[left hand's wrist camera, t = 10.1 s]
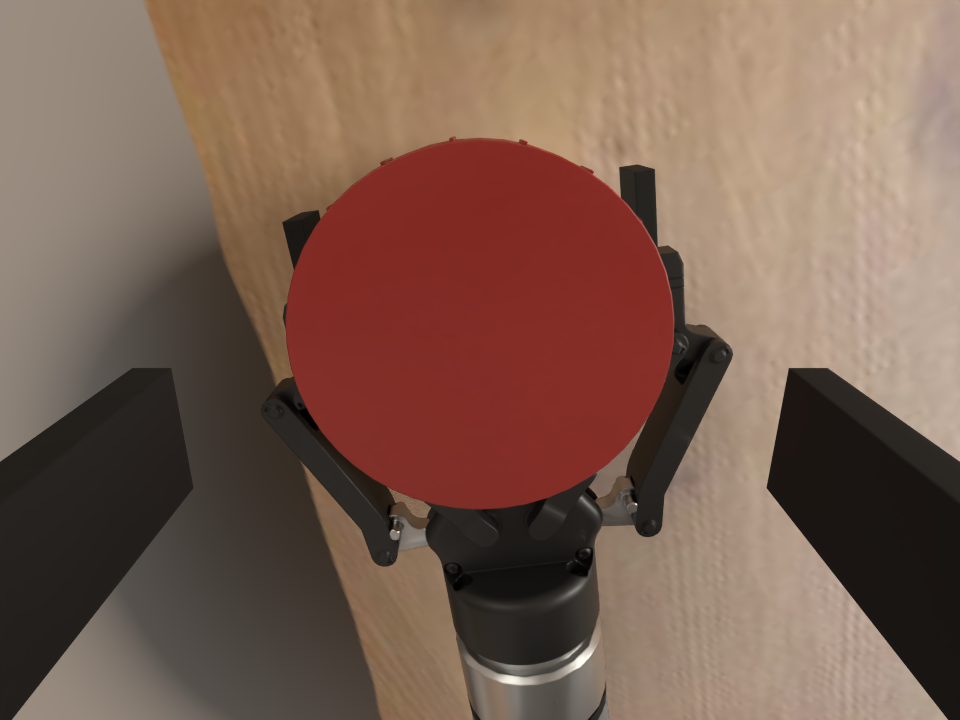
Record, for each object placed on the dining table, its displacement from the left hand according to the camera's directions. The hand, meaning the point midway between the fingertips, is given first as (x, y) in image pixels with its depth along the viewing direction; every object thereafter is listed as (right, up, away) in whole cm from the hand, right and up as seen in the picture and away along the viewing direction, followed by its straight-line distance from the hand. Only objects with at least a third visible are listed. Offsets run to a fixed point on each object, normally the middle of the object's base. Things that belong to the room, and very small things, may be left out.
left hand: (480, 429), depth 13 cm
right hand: (0, +8, +12) cm, 15 cm away
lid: (0, +2, +5) cm, 5 cm away
